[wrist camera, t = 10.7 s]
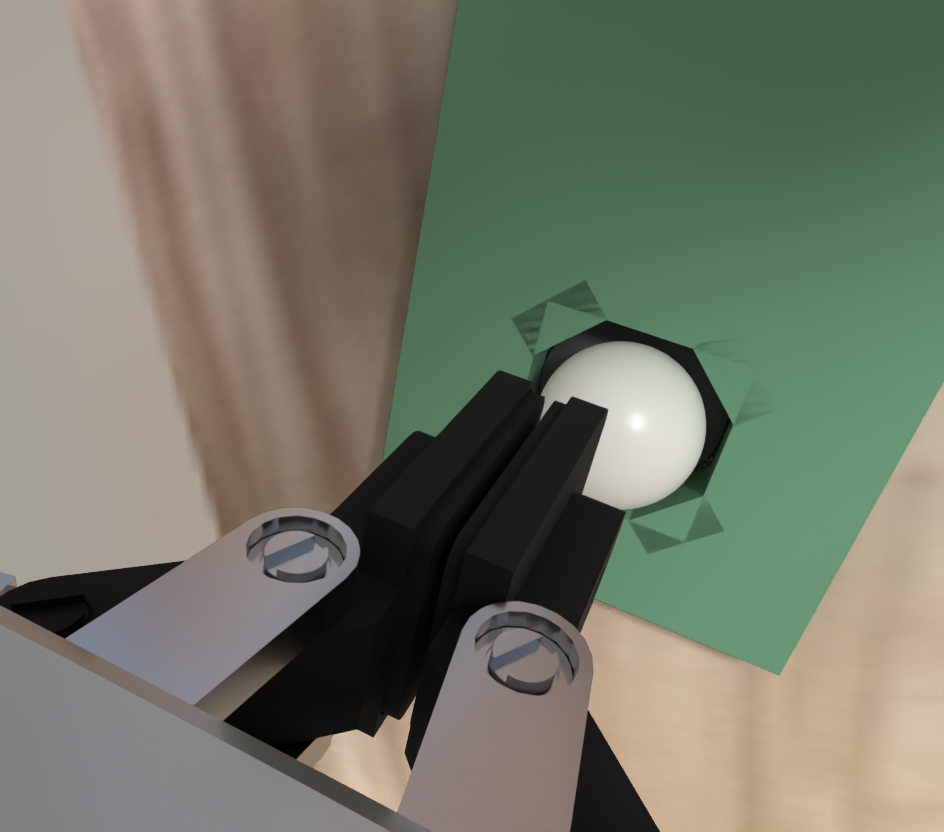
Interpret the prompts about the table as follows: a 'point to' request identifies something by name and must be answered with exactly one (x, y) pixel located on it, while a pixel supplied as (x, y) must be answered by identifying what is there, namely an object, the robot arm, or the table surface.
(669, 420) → the ball
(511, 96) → the mat
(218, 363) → the table surface
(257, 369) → the table surface
